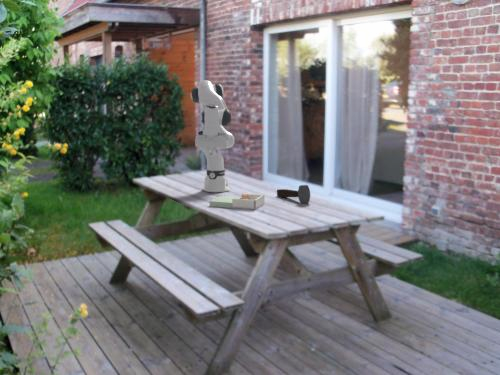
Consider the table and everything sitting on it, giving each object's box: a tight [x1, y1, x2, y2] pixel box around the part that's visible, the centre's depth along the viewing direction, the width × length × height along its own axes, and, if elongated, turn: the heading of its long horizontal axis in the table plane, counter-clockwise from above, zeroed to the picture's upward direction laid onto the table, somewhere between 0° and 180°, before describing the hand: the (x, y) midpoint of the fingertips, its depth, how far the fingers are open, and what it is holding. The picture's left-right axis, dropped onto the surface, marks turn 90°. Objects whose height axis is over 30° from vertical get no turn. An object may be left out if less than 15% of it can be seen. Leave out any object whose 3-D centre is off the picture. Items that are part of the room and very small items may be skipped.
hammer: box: [276, 184, 311, 205], centre depth 363 cm, size 5×11×30 cm
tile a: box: [241, 193, 250, 200], centre depth 348 cm, size 5×5×2 cm
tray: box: [231, 193, 265, 210], centre depth 344 cm, size 18×14×5 cm
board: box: [209, 195, 242, 209], centre depth 348 cm, size 18×14×3 cm
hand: (211, 155), depth 352 cm, fingers closed
